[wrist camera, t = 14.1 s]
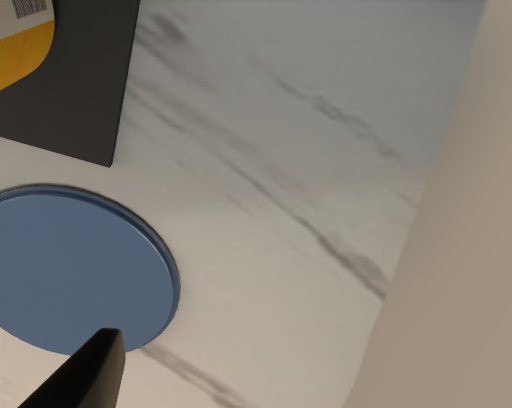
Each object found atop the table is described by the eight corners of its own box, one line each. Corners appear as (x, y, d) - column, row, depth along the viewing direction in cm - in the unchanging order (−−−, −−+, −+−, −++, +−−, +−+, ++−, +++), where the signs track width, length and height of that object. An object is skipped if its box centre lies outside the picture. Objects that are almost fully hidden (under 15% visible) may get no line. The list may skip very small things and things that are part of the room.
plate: (175, 191, 22) (174, 196, 22) (183, 358, 29) (182, 365, 29) (-74, 178, 22) (-81, 183, 22) (-10, 349, 29) (-14, 355, 28)
